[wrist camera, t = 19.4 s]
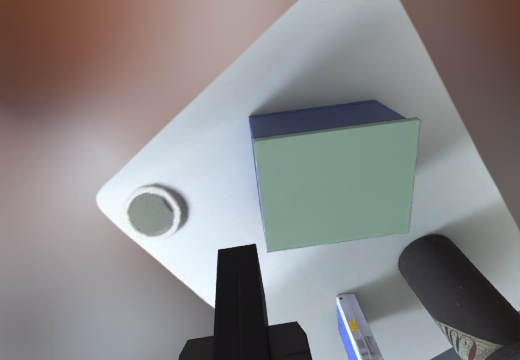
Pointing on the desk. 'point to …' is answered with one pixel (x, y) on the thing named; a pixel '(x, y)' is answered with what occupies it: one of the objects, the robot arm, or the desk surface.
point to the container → (461, 300)
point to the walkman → (355, 330)
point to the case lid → (337, 183)
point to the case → (318, 121)
